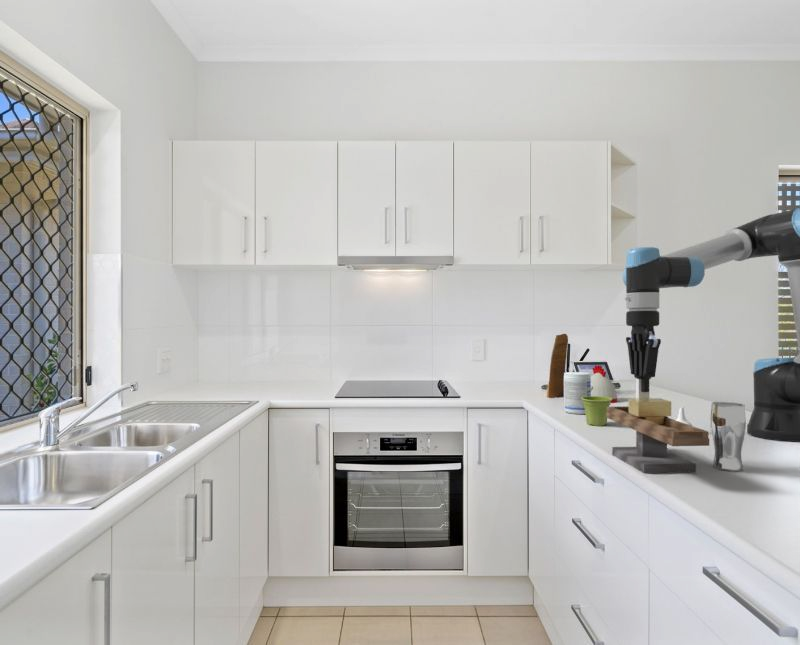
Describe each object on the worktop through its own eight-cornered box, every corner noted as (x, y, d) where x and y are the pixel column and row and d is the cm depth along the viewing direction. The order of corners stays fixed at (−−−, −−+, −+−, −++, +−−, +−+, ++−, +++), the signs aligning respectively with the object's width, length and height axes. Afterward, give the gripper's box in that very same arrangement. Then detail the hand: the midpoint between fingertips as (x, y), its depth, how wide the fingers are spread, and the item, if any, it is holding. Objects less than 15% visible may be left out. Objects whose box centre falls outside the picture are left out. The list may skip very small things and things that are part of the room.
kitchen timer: (603, 397, 231) (603, 363, 231) (624, 402, 218) (624, 366, 218) (575, 399, 228) (575, 364, 227) (595, 404, 214) (595, 367, 214)
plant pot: (616, 427, 168) (616, 400, 168) (586, 427, 168) (586, 400, 168) (606, 421, 177) (606, 396, 177) (578, 421, 178) (578, 396, 178)
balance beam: (599, 447, 142) (599, 406, 142) (642, 446, 143) (642, 405, 143) (663, 484, 110) (663, 431, 110) (718, 483, 111) (718, 430, 111)
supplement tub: (593, 415, 190) (593, 374, 189) (567, 414, 190) (566, 374, 190) (587, 410, 199) (586, 371, 199) (561, 410, 200) (561, 371, 200)
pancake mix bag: (573, 394, 241) (573, 333, 241) (556, 399, 227) (556, 334, 226) (559, 392, 246) (558, 333, 245) (542, 397, 231) (541, 334, 231)
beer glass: (748, 467, 122) (748, 403, 122) (742, 474, 117) (742, 407, 117) (713, 462, 127) (713, 400, 127) (707, 468, 122) (707, 404, 122)
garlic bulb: (665, 432, 163) (663, 407, 162) (680, 429, 165) (679, 404, 164) (682, 436, 157) (680, 410, 156) (698, 433, 159) (696, 407, 158)
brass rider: (628, 420, 130) (628, 398, 130) (660, 420, 130) (660, 398, 130) (638, 424, 125) (638, 401, 125) (671, 424, 125) (671, 401, 125)
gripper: (616, 310, 137) (616, 400, 137) (640, 309, 124) (640, 409, 124) (644, 310, 137) (644, 400, 137) (671, 309, 124) (671, 409, 124)
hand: (642, 404), depth 131 cm, fingers closed
